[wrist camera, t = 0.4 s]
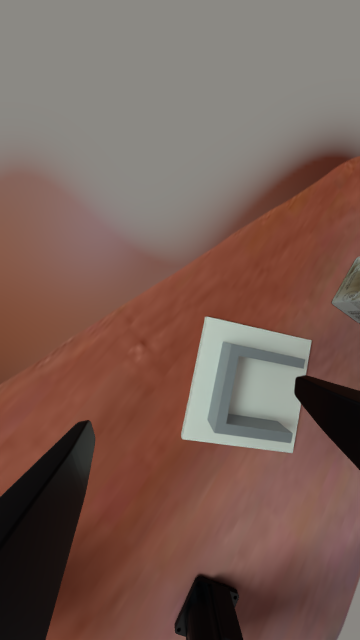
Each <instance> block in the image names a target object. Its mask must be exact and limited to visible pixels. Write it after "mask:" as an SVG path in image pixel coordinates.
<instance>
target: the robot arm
mask: <svg viewBox="0 0 360 640" xmlns="http://www.w3.org/2000/svg"><path fill="white" fill-rule="evenodd" d="M294 394H295V396H296V398H297V399H298V400H299V402H300V403H301V404H302V405H303V407H304V408H305V409H306V410H307V411H308V413H309V414H310V415H311V416H312V418H313V419H314V420H315V421H316V423H317V424H318V425H319V426H320V427H321V429H322V430H323V431H324V432H325V433H326V434H327V435H328V437H329V438H330V439H331V440H332V441H333V442H334V443H335V444H336V445H337V446H338V447H339V448H340V449H341V450H342V452H343V453H344V454H345V455H346V456H347V457H348V458H349V459H350V460H351V461H352V462H353V463H354V464H355V465H356V467H357V468H358V469H359V470H360V391H358V390H354V389H351V388H348V387H344V386H341V385H337V384H334V383H331V382H327V381H324V380H320V379H317V378H314V377H310V376H307V375H303V376H298V377H296V379H295V387H294ZM94 446H95V434H94V431H93V427H92V424H91V422H90V421H89V420H86V421H81V422H78V423H77V424H75V425H74V426H73V427H72V428H71V429H70V430H69V431H68V432H67V433H66V434H65V435H64V436H63V437H62V438H61V439H60V440H59V441H58V442H57V443H56V444H55V445H54V446H53V447H52V448H51V449H50V450H48V451H47V452H46V453H45V454H44V455H43V456H42V457H41V458H40V459H39V460H38V461H37V462H36V463H35V464H34V465H33V466H32V467H31V468H30V469H29V470H28V471H27V472H26V473H25V474H24V475H23V476H21V477H20V478H19V479H18V480H17V481H16V482H15V483H14V484H13V485H12V486H11V487H10V488H9V489H8V490H7V491H6V492H5V493H4V494H3V495H2V496H1V497H0V640H46V636H47V632H48V629H49V625H50V621H51V618H52V614H53V611H54V607H55V603H56V600H57V596H58V592H59V589H60V585H61V581H62V578H63V574H64V571H65V567H66V563H67V560H68V556H69V552H70V549H71V545H72V542H73V538H74V534H75V531H76V527H77V523H78V520H79V516H80V512H81V509H82V505H83V501H84V498H85V494H86V489H87V484H88V479H89V473H90V468H91V462H92V457H93V452H94ZM238 598H239V595H238V592H237V590H236V589H234V588H231V587H228V586H226V585H223V584H220V583H217V582H215V581H212V580H209V579H206V578H203V577H201V576H198V577H196V578H195V580H194V582H193V585H192V587H191V589H190V591H189V593H188V596H187V598H186V600H185V602H184V605H183V607H182V609H181V611H180V613H179V616H178V618H177V620H176V622H175V633H176V634H178V635H182V636H185V637H186V640H243V637H242V633H241V629H240V626H239V622H238V619H237V615H236V611H235V606H236V603H237V601H238Z"/></svg>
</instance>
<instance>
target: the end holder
mask: <svg viewBox="0 0 360 640" xmlns="http://www.w3.org/2000/svg"><path fill="white" fill-rule="evenodd" d="M311 341H312V340H307V339H303V338H298V337H294V336H290V335H285V334H281V333H277V332H272V331H268V330H263V329H259V328H255V327H250V326H246V325H241V324H237V323H233V322H228V321H224V320H220V319H215V318H211V317H205V321H204V326H203V331H202V336H201V341H200V345H199V350H198V355H197V360H196V365H195V370H194V375H193V380H192V385H191V389H190V394H189V399H188V404H187V409H186V414H185V419H184V424H183V428H182V433H181V437H182V439H186V440H194V441H202V442H209V443H217V444H225V445H233V446H241V447H249V448H257V449H265V450H273V451H280V452H288V453H293V448H294V442H295V436H296V430H297V424H298V419H299V413H300V407H301V403H300V402H299V400H298V399H297V398H296V396H295V394H294V387H295V379H296V377H298V376H303V375H306V371H307V365H308V359H309V353H310V347H311Z"/></svg>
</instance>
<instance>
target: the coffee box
mask: <svg viewBox="0 0 360 640" xmlns="http://www.w3.org/2000/svg"><path fill="white" fill-rule="evenodd" d="M332 304H333V305H334V306H336V307H337V308H338V309H340V310H341V311H343V312H344V313H345V314H347V315H348V316H350V317H351V318H352V319H354V320H355V321H356V322H358V323H360V257H357V258H356V260H355V261H354V263H353V265H352V267H351V268H350V270H349V272H348V274H347V276H346V277H345V279H344V281H343V283H342V285H341V286H340V288H339V290H338V292H337V293H336V295H335V297H334V299H333V301H332Z"/></svg>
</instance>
